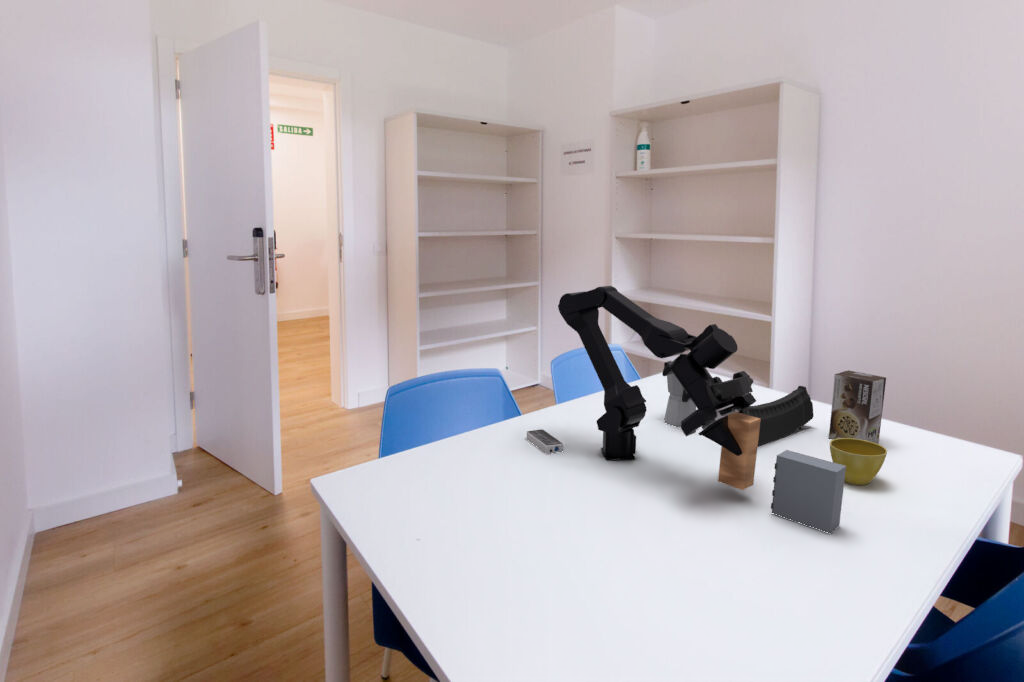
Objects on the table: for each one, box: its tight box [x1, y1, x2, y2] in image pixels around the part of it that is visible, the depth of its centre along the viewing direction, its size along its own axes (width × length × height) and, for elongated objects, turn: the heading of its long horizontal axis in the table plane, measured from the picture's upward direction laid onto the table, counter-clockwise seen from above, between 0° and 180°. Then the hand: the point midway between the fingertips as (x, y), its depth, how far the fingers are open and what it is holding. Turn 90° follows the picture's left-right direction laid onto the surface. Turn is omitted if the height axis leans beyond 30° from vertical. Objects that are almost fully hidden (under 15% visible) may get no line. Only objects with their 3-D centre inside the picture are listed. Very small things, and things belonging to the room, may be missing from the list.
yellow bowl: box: [829, 438, 888, 486], centre depth 126 cm, size 10×10×7 cm
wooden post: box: [717, 412, 761, 491], centre depth 117 cm, size 5×4×13 cm
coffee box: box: [828, 370, 887, 445], centre depth 147 cm, size 9×6×16 cm
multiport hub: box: [526, 428, 564, 455], centre depth 144 cm, size 4×11×2 cm, turn 23°
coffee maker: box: [663, 353, 697, 428], centre depth 159 cm, size 15×9×18 cm, turn 172°
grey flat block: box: [770, 449, 846, 534], centre depth 108 cm, size 10×4×11 cm, turn 43°
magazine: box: [746, 385, 814, 446], centre depth 149 cm, size 17×3×30 cm
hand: (746, 451), depth 116 cm, fingers closed on wooden post, 4 cm apart
